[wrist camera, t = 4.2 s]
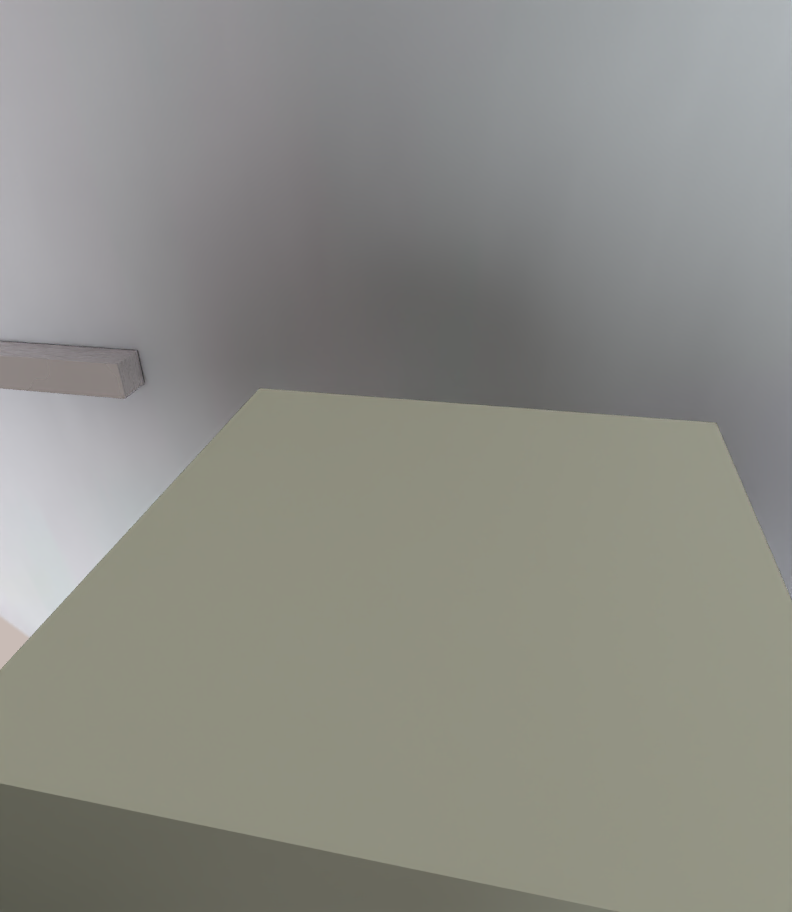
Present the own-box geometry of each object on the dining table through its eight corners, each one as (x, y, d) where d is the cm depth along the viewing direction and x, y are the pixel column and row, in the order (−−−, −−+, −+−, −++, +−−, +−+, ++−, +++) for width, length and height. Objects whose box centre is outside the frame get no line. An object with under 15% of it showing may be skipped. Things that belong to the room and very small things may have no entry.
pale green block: (608, 853, 11) (638, 1357, 7) (312, 796, 12) (173, 1206, 8) (715, 422, 7) (952, 980, 3) (258, 388, 8) (-88, 766, 4)
